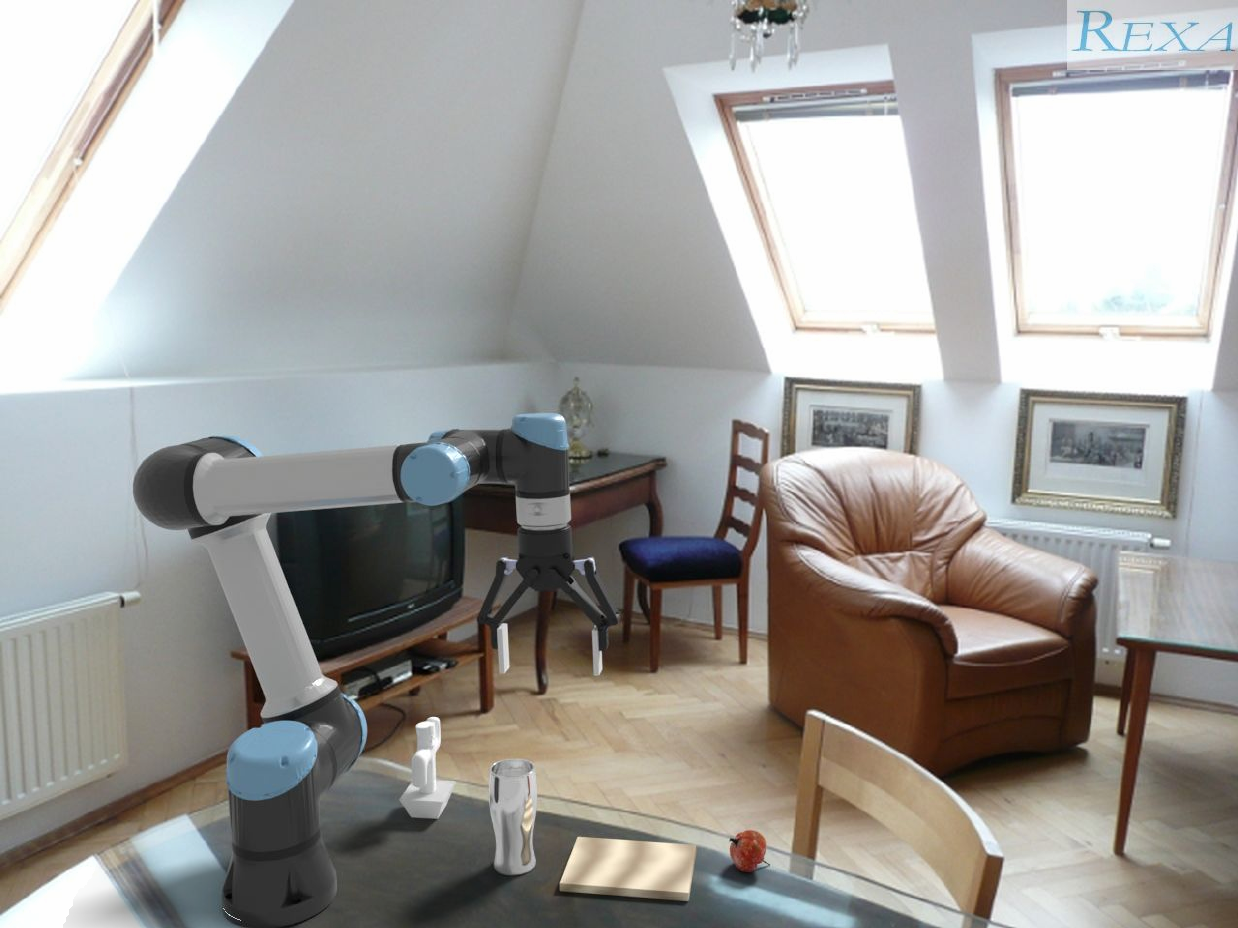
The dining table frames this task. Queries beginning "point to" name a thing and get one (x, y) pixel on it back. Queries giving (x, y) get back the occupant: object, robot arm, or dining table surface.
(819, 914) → the dining table surface
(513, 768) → the beer glass
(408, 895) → the dining table surface
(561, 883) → the birch board
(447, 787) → the figurine
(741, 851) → the pomegranate
